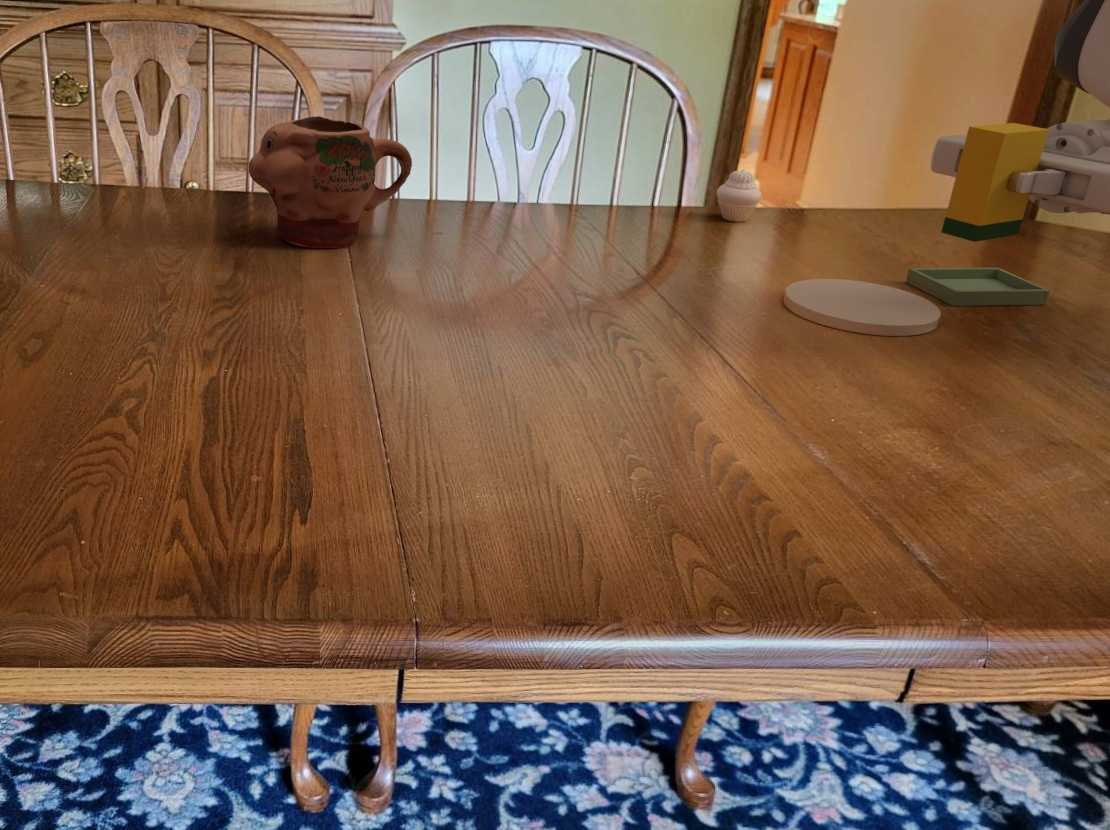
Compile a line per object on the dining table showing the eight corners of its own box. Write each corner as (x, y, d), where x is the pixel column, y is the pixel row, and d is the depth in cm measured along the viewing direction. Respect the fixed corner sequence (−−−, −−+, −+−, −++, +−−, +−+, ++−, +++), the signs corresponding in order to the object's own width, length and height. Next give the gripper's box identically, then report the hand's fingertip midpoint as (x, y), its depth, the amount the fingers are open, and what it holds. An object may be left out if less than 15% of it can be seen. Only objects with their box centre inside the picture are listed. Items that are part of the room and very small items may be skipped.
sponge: (984, 225, 110) (1013, 122, 105) (1018, 234, 107) (1049, 129, 102) (940, 232, 106) (968, 126, 102) (974, 242, 103) (1004, 133, 99)
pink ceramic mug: (387, 222, 145) (392, 113, 139) (423, 246, 135) (430, 130, 129) (238, 230, 137) (236, 115, 131) (265, 256, 127) (264, 133, 121)
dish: (994, 281, 133) (998, 267, 133) (1045, 304, 125) (1050, 290, 125) (905, 282, 131) (909, 268, 130) (952, 306, 123) (956, 291, 122)
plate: (932, 301, 125) (934, 291, 124) (944, 345, 111) (947, 334, 110) (785, 281, 129) (787, 271, 128) (780, 321, 115) (782, 310, 115)
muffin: (766, 222, 155) (775, 172, 152) (735, 226, 152) (744, 175, 149) (733, 212, 160) (741, 163, 157) (703, 215, 157) (711, 166, 154)
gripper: (986, 117, 117) (903, 123, 110) (1189, 154, 101) (1107, 164, 95) (970, 177, 120) (888, 186, 113) (1165, 222, 104) (1084, 236, 97)
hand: (990, 177), depth 104 cm, fingers closed on sponge, 3 cm apart
